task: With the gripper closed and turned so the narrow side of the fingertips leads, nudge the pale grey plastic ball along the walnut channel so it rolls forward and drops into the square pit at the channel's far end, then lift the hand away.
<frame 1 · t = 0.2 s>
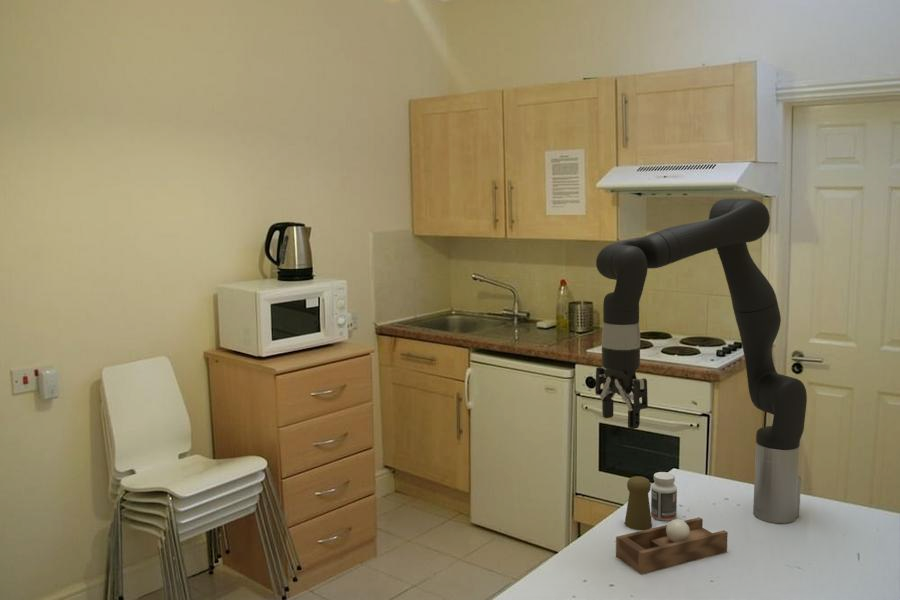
hand: (620, 422, 160), 28 cm above the table, tool pointing down, fingers open, 8 cm apart
ball: (677, 531, 164), point 5 cm above the table, touching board
pill bottle: (663, 517, 183), on the table
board: (671, 554, 164), on the table
pepper mill: (638, 525, 179), on the table
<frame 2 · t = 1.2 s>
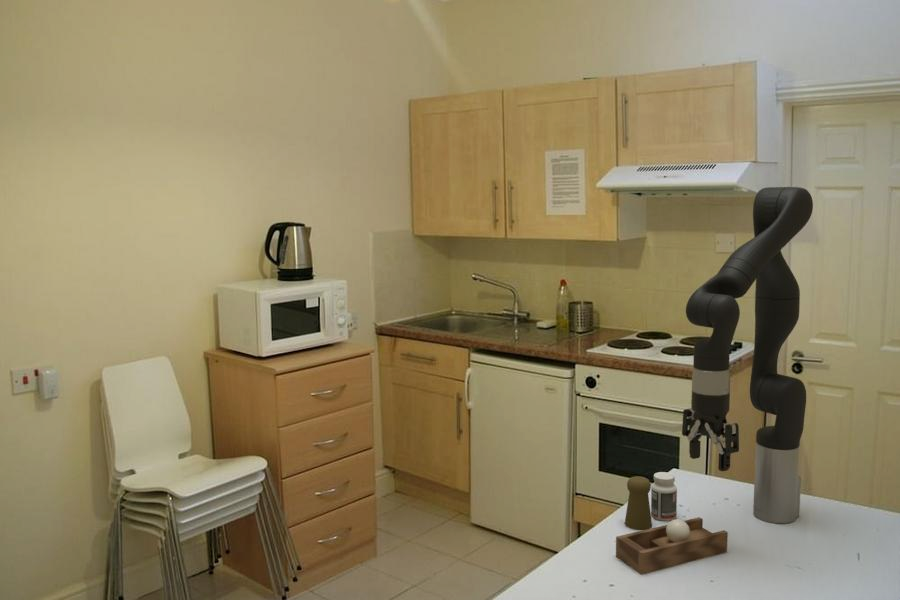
hand: (708, 464, 165), 18 cm above the table, tool pointing down, fingers open, 8 cm apart
nothing on the table moved.
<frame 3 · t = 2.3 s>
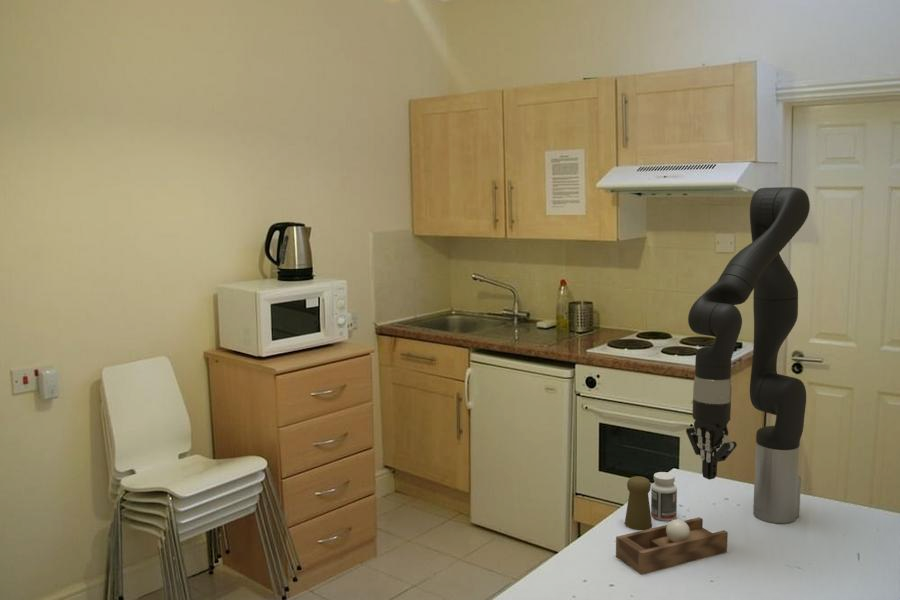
hand: (709, 477, 166), 15 cm above the table, tool pointing down, fingers closed
nothing on the table moved.
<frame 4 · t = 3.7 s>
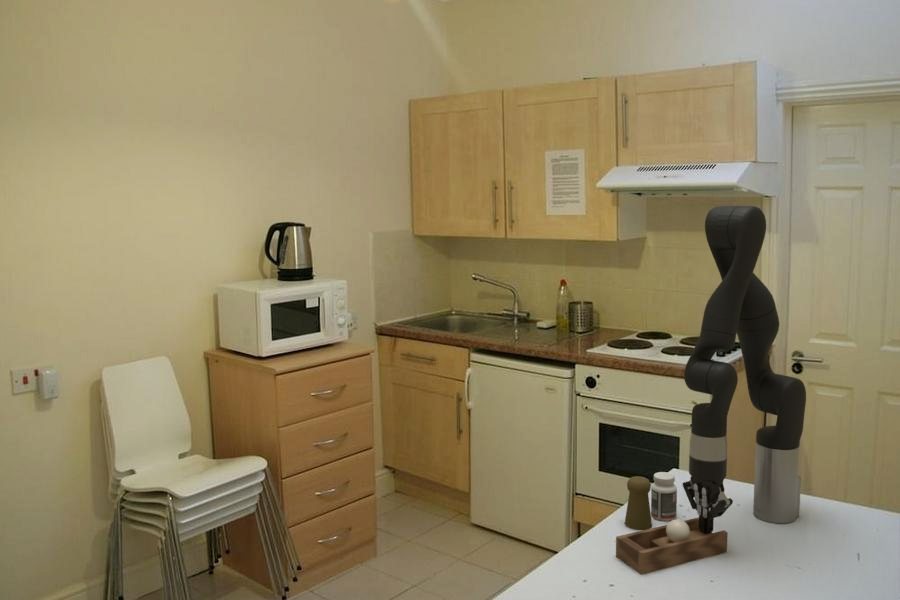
hand: (705, 532, 167), 3 cm above the table, tool pointing down, fingers closed
nothing on the table moved.
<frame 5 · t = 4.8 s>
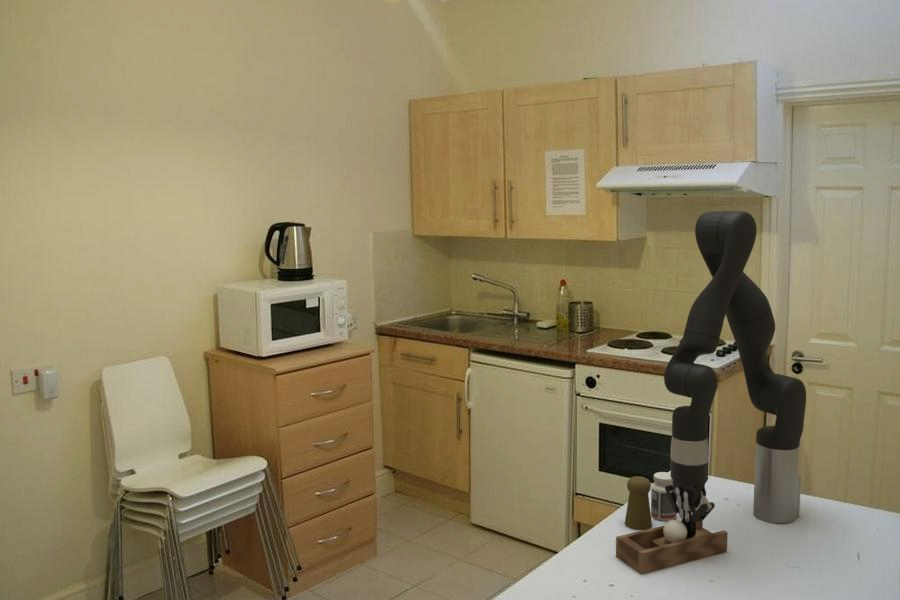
hand: (688, 536, 165), 3 cm above the table, tool pointing down, fingers closed
ball: (675, 531, 163), point 5 cm above the table, tilted 12°, touching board, gripper
everything else where it was.
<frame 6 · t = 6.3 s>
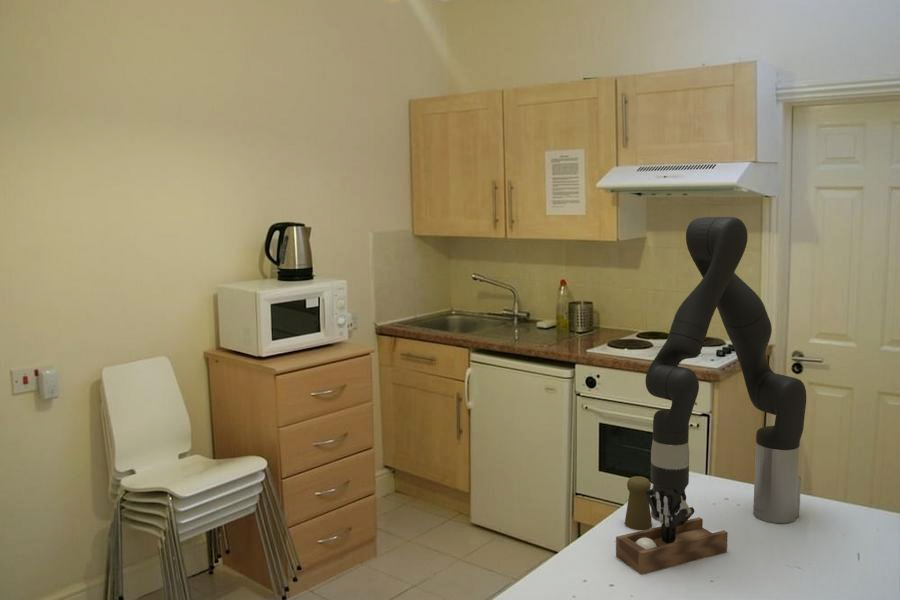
hand: (668, 541, 163), 3 cm above the table, tool pointing down, fingers closed
ball: (645, 549, 161), point 2 cm above the table, tilted 167°
everything else where it was.
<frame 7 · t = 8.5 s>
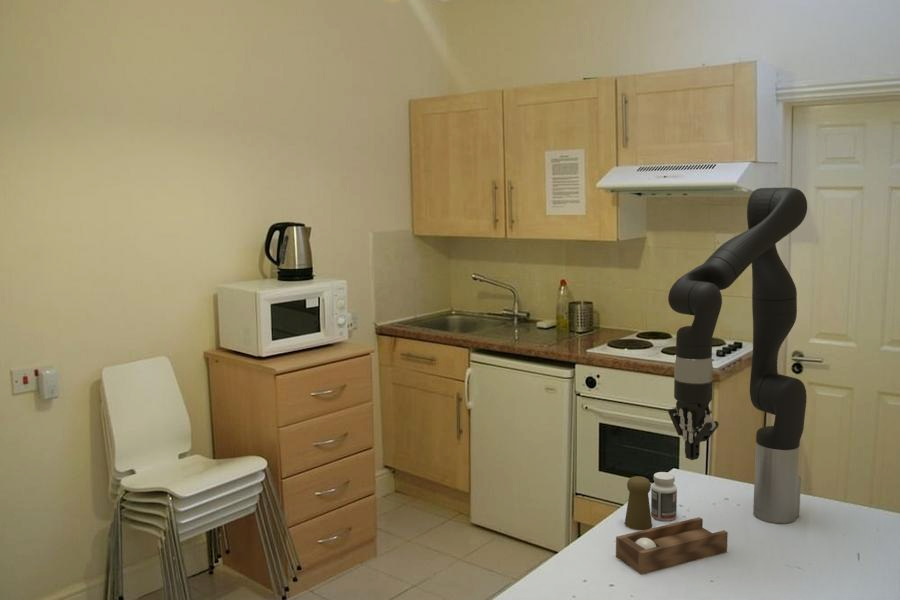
hand: (691, 458, 164), 20 cm above the table, tool pointing down, fingers closed
nothing on the table moved.
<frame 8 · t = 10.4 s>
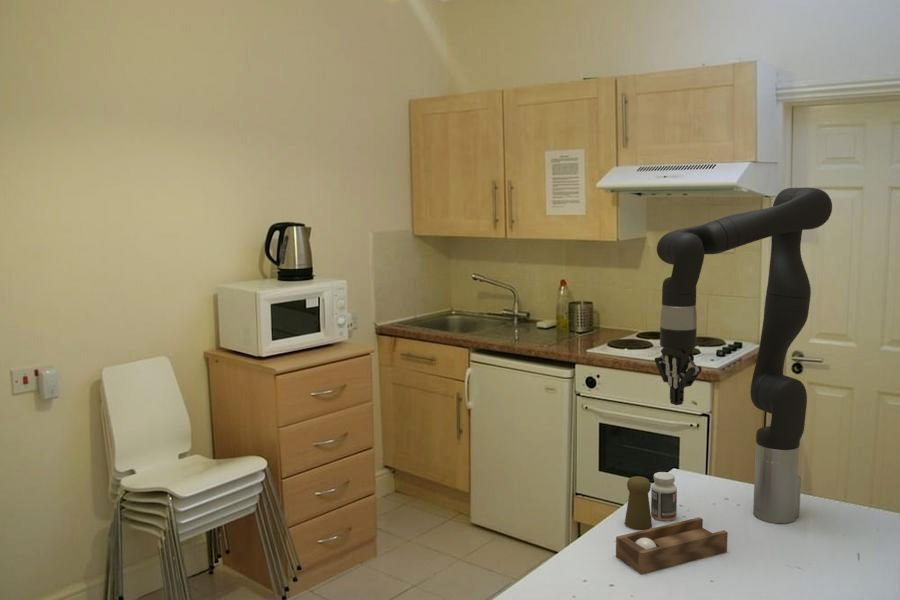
hand: (676, 403, 171), 29 cm above the table, tool pointing down, fingers closed
nothing on the table moved.
at the end: ball 0.6 cm from the target spot on the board, point 2.4 cm above the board's base; ball touching table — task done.
